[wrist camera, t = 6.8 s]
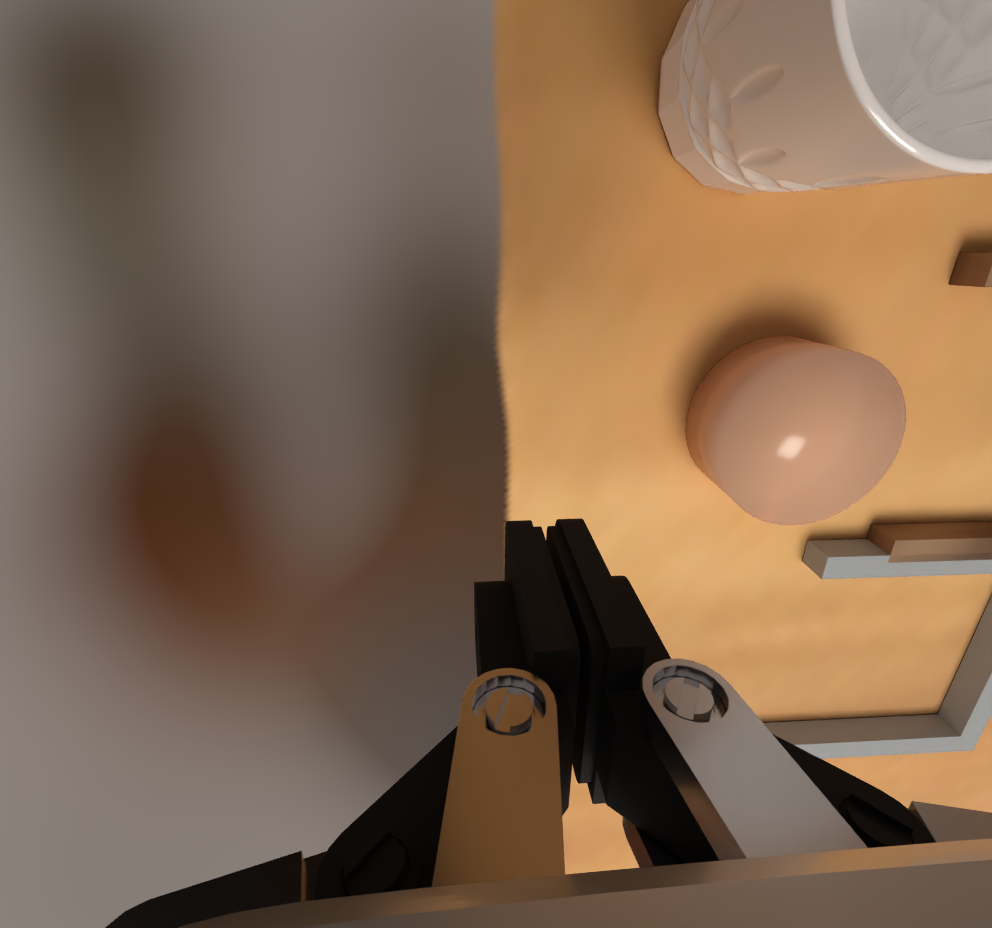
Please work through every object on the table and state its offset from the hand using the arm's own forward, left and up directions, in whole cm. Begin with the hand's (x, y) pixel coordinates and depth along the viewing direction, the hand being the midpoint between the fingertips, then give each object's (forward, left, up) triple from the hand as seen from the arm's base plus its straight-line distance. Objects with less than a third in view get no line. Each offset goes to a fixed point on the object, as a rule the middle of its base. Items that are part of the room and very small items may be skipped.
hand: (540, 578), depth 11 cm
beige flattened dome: (-11, 0, -12) cm, 16 cm away
